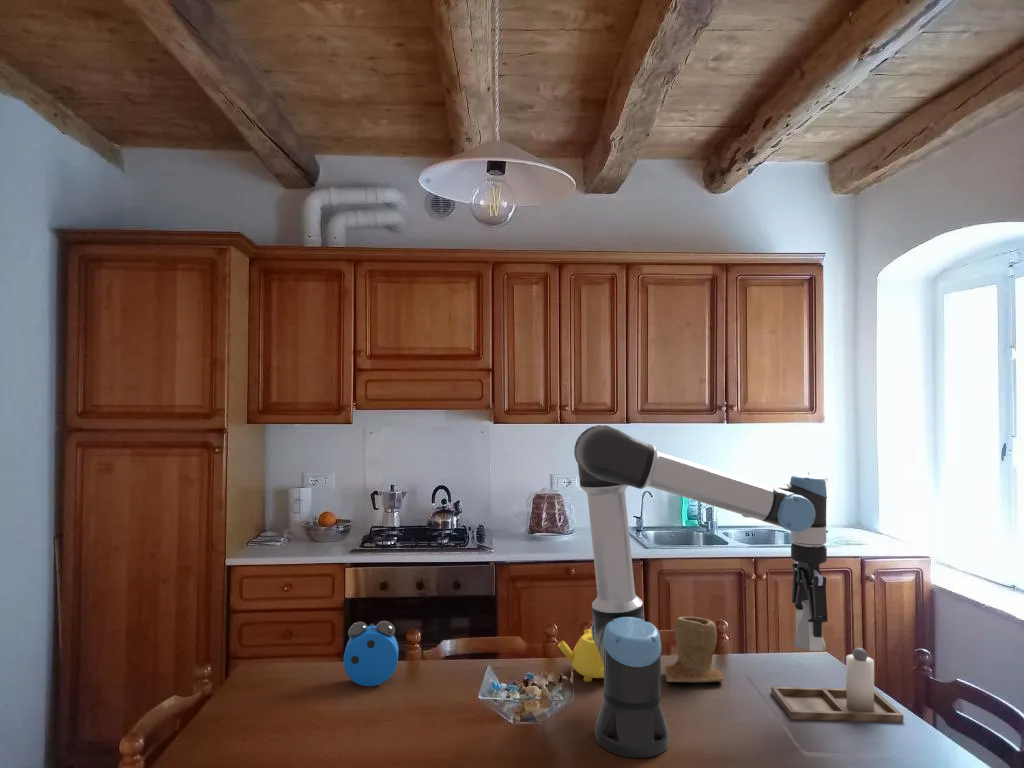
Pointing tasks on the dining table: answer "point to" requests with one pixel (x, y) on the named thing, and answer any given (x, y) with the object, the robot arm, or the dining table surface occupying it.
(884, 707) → the tray
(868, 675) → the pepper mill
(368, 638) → the alarm clock
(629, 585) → the robot arm
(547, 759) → the dining table surface
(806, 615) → the flask
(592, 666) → the teapot
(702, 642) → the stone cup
